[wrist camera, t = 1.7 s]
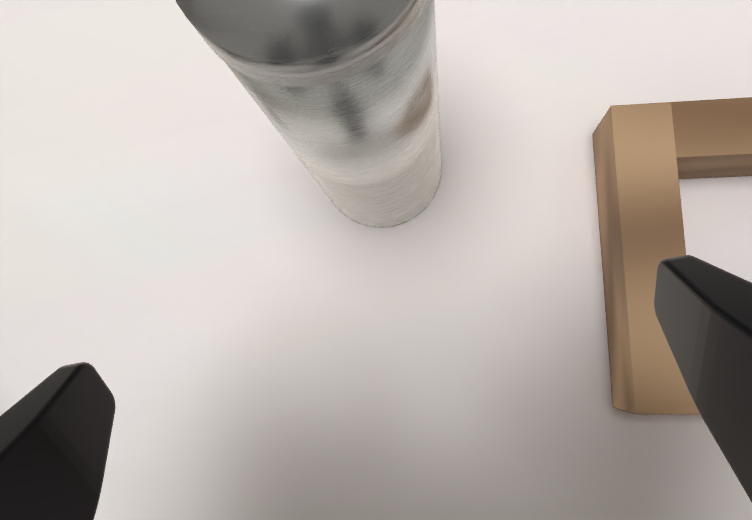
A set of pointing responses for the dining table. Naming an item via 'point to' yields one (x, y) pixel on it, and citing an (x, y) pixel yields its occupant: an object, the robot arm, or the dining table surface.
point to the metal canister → (341, 92)
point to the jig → (655, 228)
